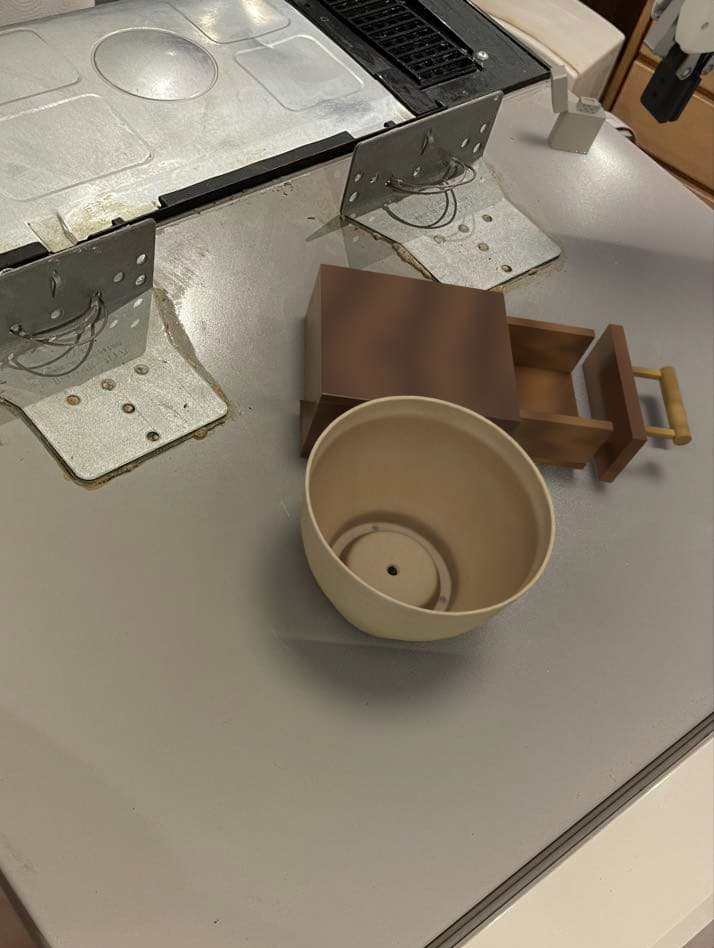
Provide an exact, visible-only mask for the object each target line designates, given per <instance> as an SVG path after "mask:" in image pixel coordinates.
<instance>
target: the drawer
mask: <svg viewBox="0 0 714 948" xmlns="http://www.w3.org/2000/svg"><path fill="white" fill-rule="evenodd" d="M507 321H508V329H509V336H510V343H511V350H512V358H513V365H514V372H515V380H516V387H517V394H518V401H519V409H520V416H521V422H520V424H519V426H518V427H517V429H516V430H515V432H514V433H513V435H512V438H513V439H514V440H515V441H516V442H517V443H518V444H519V445H520V447H521V448H522V449H523V450H524V451H525V452H526V453H527V455H528V456H529V457H530V459H531V460H532V461H533V463H534V464H535V465H543V466H549V467H550V466H551V467H558V468H566V469H574V470H584V469H585V467H586V466H587V465H588V463H589V462H590V461H591V459H593V462H594V468H595V473H596V478H597V482H601V483H609V484H613V482H614V481H615V480H616V479H617V477H618V476H619V475H620V474H621V473H622V471H624V469H625V468H626V467H627V465H628V464H629V463H630V462H632V460H633V459H634V458H635V456H636V455H637V454H638V453H639V452H640V450H641V449H642V447H644V446H645V444H646V443H648V440H649V439H648V437H651V438H658V439H665V440H672V443H673V445H675V446H677V447H682V446H686V445H688V444H690V443H691V442H692V439H693V438H692V433H691V429H690V426H689V421H688V417H687V412H686V409H685V404H684V400H683V396H682V393H681V389H680V384H679V381H678V377H677V372H676V368H674V367H673V366H670V365H669V366H668V365H667V366H663V367H661V368H660V369H656V368H655V369H654V368H648V367H641V366H634V365H632V361H631V356H630V351H629V347H628V342H627V338H626V333H625V329H624V326H623V325H621V324H614V323H609V324H608V325H607V326H606V328H605V329H604V330H603V332H602V333H601V335H600V337H599V338H598V340H597V341H596V343H594V346H593V347H592V349H591V350H590V352H589V353H588V354H587V356H586V357H585V359H584V361H583V362H582V364H581V368H582V373H583V378H584V384H585V390H586V394H587V400H588V406H589V410H590V411H589V412H590V417H591V418H587V417H580V416H579V410H578V406H577V399H576V393H575V389H574V382H573V377H572V373H573V371H574V370H575V368H576V367H577V365H578V364H579V362H580V361H581V359H582V357H583V356H584V355H585V353H586V352H587V350H588V349H589V347H590V346H591V344H592V343H593V341H594V340H595V339H596V331H595V329H593V328H587V327H582V326H581V327H580V326H575V325H574V326H573V325H567V324H562V323H561V324H560V323H555V322H550V321H543V320H536V319H530V318H523V317H516V316H510V315H507ZM635 378H639V379H640V378H642V379H648V380H654V381H655V380H656V381H658V384H659V388H660V393H661V398H662V401H663V405H664V410H665V413H666V418H667V421H668V422H667V423H668V428H666V427H659V426H651V425H645V421H644V417H643V412H642V407H641V403H640V398H639V394H638V390H637V384H636V380H635Z"/></svg>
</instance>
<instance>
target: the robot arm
mask: <svg viewBox="0 0 714 948" xmlns="http://www.w3.org/2000/svg"><path fill="white" fill-rule="evenodd" d="M650 17H651V19H652V20H653V21H655V23H654V25H652V27H651V29H650V30H649V32H648V33H647V34H646V36H645V37H644V39H643V42H642V43H643V46H644V47H645V48H646V49H647V50H648V51H649V52H650V53H651V54H652V55H653V56H656V57H658V58H659V59H660V61H659V63H658V65H657V66H656V68H655V70H654V72H653V74H652V75H651V77H650V79H649V81H648V83H647V84H646V86H645V88H644V89H643V92H642V93H641V95H640V97H639V102H640V104H641V105H642V106H643V107H644V109H646V111H647V112H648V113H649V114H650V115H651V116H652V117H653V118H654V119H655V121H656V122H657V123H658V124H659V125H662V124H667V123H668V122H669V123H673V122H677V121H678V120H679V119H680V117H681V115H682V113H683V112H684V110H685V109H686V107H687V105H688V104H689V102H690V101H691V99H692V97H693V95H694V94H695V92H696V90H697V89H698V87H699V85H700V84H701V83H702V81H703V78H704V77H707V76H709V75H710V74H711V73H712V72H713V70H714V0H654V3H653V4H652V8H651V12H650ZM702 77H703V78H702Z"/></svg>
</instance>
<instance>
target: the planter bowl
mask: <svg viewBox="0 0 714 948" xmlns="http://www.w3.org/2000/svg"><path fill="white" fill-rule="evenodd" d="M536 465H537V464H534V463H533V461H532V460H531V459H530V457H529V456H528V455H527V453H526V452H525V451H524V450H523V449H522V448H521V447H520V445H519V444H518V443H517V442H516V441H515V440H514V439H513V438H512V437H511V436H509V435H508V434H507V433H506V432H505V431H503V430H502V429H501V428H499V427H498V426H497V425H495V424H494V423H492V422H491V421H489V420H488V419H486V418H484V417H483V416H481V415H479V414H477V413H475V412H473V411H471V410H469V409H467V408H464V407H462V406H459V405H456V404H454V403H450V402H447V401H443V400H439V399H434V398H428V397H422V396H391V397H385V398H379V399H375V400H372V401H368V402H366V403H363V404H361V405H358V406H356V407H354V408H352V409H350V410H349V411H347V412H345V413H344V414H342V415H341V416H339V417H338V418H337V419H336V420H334V421H333V422H332V423H331V424H330V425H329V426H328V427H327V428H326V429H325V430H324V431H323V433H322V434H321V435H320V437H319V438H318V440H317V441H316V443H315V445H314V447H313V449H312V451H311V453H310V456H309V458H307V463H306V466H305V471H304V478H303V491H302V498H301V506H300V507H301V508H300V529H301V538H302V542H303V548H304V552H305V556H306V559H307V562H308V565H309V568H310V570H311V572H312V574H313V576H314V578H315V580H316V582H317V585H319V587H320V589H321V591H322V592H323V593H324V595H325V596H326V598H327V599H328V601H330V602H331V604H332V605H333V607H334V608H335V609H336V611H337V612H338V613H339V614H340V615H341V616H342V617H343V619H345V620H346V621H347V622H349V624H351V625H352V626H354V627H356V628H357V629H358V630H360V631H362V632H363V633H367V634H369V635H371V636H374V637H377V638H382V639H387V640H400V641H408V642H429V641H437V640H443V639H447V638H452V637H455V636H459V635H462V634H465V633H467V632H470V631H471V630H474V629H476V628H478V627H480V626H481V625H483V624H485V623H487V622H489V621H490V620H492V619H493V618H495V617H496V616H497V615H499V614H500V613H502V612H503V611H504V610H505V609H506V608H508V606H510V605H512V604H513V603H514V602H516V601H517V600H519V599H520V598H521V597H522V596H524V595H525V594H526V593H527V591H529V590H530V589H531V588H532V587H533V586H534V584H535V583H537V582H538V580H539V578H540V577H541V576H542V574H543V572H544V571H545V569H546V567H547V565H548V563H549V561H550V559H551V556H552V553H553V549H554V545H555V538H556V515H555V508H554V504H553V500H552V497H551V494H550V491H549V489H548V486H547V484H546V481H545V479H544V477H543V476H542V473H541V472H540V470H539V468H538V466H536ZM391 567H393V568H394V569H395V570H396V574H395V575H392V574H390V573H389V572H388V570H389V568H391Z"/></svg>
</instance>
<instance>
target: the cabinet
mask: <svg viewBox="0 0 714 948" xmlns="http://www.w3.org/2000/svg"><path fill="white" fill-rule="evenodd" d="M314 281H315V282H314V285H313V288H312V291H311V294H310V298H309V302H308V305H307V309H306V312H305V315H304V357H303V358H304V369H303V370H304V376H303V377H304V378H303V379H304V381H303V382H304V384H303V385H304V390H303V392H304V395H303V399H299V458H303V459H309V456H310V453H311V451H312V449H313V447H314V445H315V443H316V441H317V440H318V438H319V437H320V435H321V434H322V433H323V431H324V430H325V429H326V428H327V427H328V426H329V425H330V424H331V423H332V422H333V421H334V420H336V419H337V418H338V417H339V416H341V415H342V414H344V413H345V412H347V411H349V410H350V409H352V408H354V407H356V406H358V405H361V404H363V403H366V402H368V401H372V400H375V399H379V398H385V397H391V396H422V397H428V398H434V399H439V400H443V401H447V402H450V403H454V404H456V405H459V406H462V407H464V408H467V409H469V410H471V411H473V412H475V413H477V414H479V415H481V416H483V417H484V418H486V419H488V420H489V421H491V422H492V423H494V424H495V425H497V426H498V427H499V428H501V429H502V430H503V431H505V432H506V433H507V434H508V435H509V436H511V437H512V435H513V433H514V432H515V430H516V429H517V427H518V426H519V424H520V422H521V416H520V409H519V401H518V394H517V387H516V380H515V372H514V365H513V358H512V350H511V343H510V336H509V329H508V321H507V316H508V315H507V306H506V299H505V293H504V292H503V291H502V292H501V291H494V290H489V289H483V288H477V287H471V286H466V285H465V286H464V285H458V284H451V283H445V282H440V281H434V280H428V279H421V278H414V277H408V276H403V275H397V274H390V273H383V272H377V271H372V270H366V269H365V270H364V269H358V268H352V267H348V266H347V267H345V266H340V265H335V264H328V263H320V264H319V267H318V271H317V275H316V278H315V280H314Z"/></svg>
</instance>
